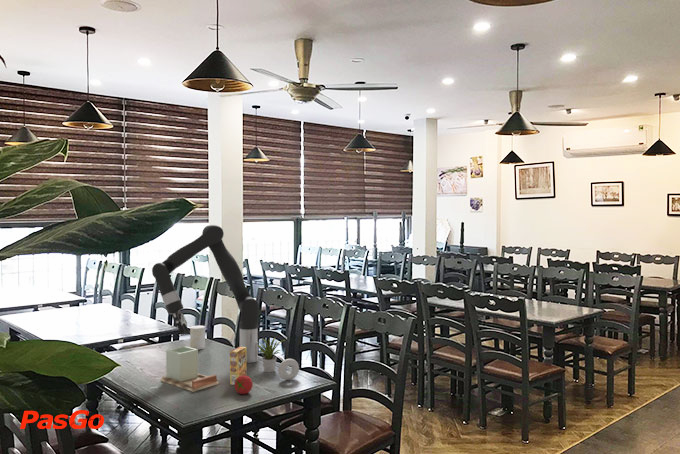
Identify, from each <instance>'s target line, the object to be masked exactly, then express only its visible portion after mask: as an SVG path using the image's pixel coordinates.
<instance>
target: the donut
mask: <svg viewBox="0 0 680 454" xmlns="http://www.w3.org/2000/svg"><path fill="white" fill-rule="evenodd" d="M299 366H300V365H299V363H298V361H296V360H295V359H293V358H287V359H284V360H283V361H282V362H281V363H280V364H279V366H278V369H277V370H278V375H279V376H280V378H281V379H282V380H285V381H292V380H293V379H295V378H296V377H297V375H298V374H299V371H300V367H299ZM288 367H291V370H290V372H287V368H288Z"/></svg>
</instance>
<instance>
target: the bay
mask: <svg viewBox="0 0 680 454" xmlns="http://www.w3.org/2000/svg"><path fill="white" fill-rule="evenodd" d="M217 378H218V377H217V375H216V374H211V375H209V376H208V375H205V374H201V373H198V377H196V378H192V379H189V380H185V381H182V382H180V381H177V380H174V379H171V378H168V377H166V376H162V377H161V378H160V382H163V383H166V384H169V385H172V386H175V387H178V388H181V389H183V390H187V391H190V392H192V393H193V392H197V391H200V390H203V389H204V390H205V389H207V388H210V387H213V386H217V385H219V384H220V382H219V380H218V379H217Z"/></svg>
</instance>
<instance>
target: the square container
mask: <svg viewBox="0 0 680 454" xmlns="http://www.w3.org/2000/svg"><path fill="white" fill-rule="evenodd" d="M165 355H166V361H165V362H166V364H165V365H166V366H165V367H166V373H165V374H166V376H165V377H168V378H171V379H174V380H177V381H180V382H182V381H185V380H189V379H192V378H196V377H198V374H199V369H198V368H199V361H198V360H199V350H198V349H194V348H190V346H186V345H184V346H180V347H175V348H170V349H166V353H165Z"/></svg>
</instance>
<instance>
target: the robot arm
mask: <svg viewBox="0 0 680 454" xmlns="http://www.w3.org/2000/svg"><path fill="white" fill-rule="evenodd" d="M223 238H224V230H223V228H222V227H221V226H219V225H217V224H210V225H206V226H205V227H204V228H203V230H202V234H201V235H200V236H199V237H198V238H197V237H196V239H194V240H193V241H191V242H189V243H188V244H186V245H184V246H181V248H178V249H177V250H175V252H173V253H171V254H170V255H169V256H168V257H167V258H166V259H165V260H164V261H162V262H157V263H155V264H154V265H153V266H152V268H151V272H152V276H153V277H154V278H155V281H156V283H157V286H158V290H159V293H160V296H161V298H162V301H163V304H164V307H165V309H166V312H167V314H168V315H171V316H172V319H173V322H174V325H175V326H176V328H178V331H179V333H180V335H184V334H185V335H187V334H190V330H189V328H188V326H187V325H188V322H187V319H186V317H185V315H184V312H181V311H182V310H184V305H183V303H182V300H181V298H180V296H179V294H178V291H177V290H176V288H175V285H174V283H173V281H172V278H171V275H170V274H171V273H173V272H174V271H175V270H176V269H177V268H179V267H180V266H182V265H184V264H185V263H186V262H188V261H189V260H190V259H192V258H193V257H194V256H196V255H197V254H199V253H200V252H202V251H204V250H206V249H207V248H209V250H210V251H211V253H212V255H213V257H214V259H215V262H216V264H217V266H218V268H219V270H220V273H221V276H222V277H223V279H224V281H225V282H226V284H227V286H228V288H229V289H230V290H231V292H232V295H233V296H234V299H235V301H236V304H237V307H238V309H239V311H240V312H241V313H240V315H241V317H240V322H239V347H246V360H247V362H246V363H247V364H249V363H256V362H258V357H259V356H258V351H259V349H258V348H259V346H258V345H259V344H258V343H259V341H258V328H259V327H258V325H259V322H260V321H259V318H260V317H259V316H260V305H259V302H258V301H257V300H256V298H254V297H252V295H251V294H250V292H249V290H248V289H247V287H246V284H245V280H244V276H243V273H242V271H241V268H240V266H239V264H238V262H237V260H236V259H235V257H233V255H232V253H230V251H229V250H228V249H227V247H226V246H225V243H224V241H223ZM257 341H258V342H257Z"/></svg>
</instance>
